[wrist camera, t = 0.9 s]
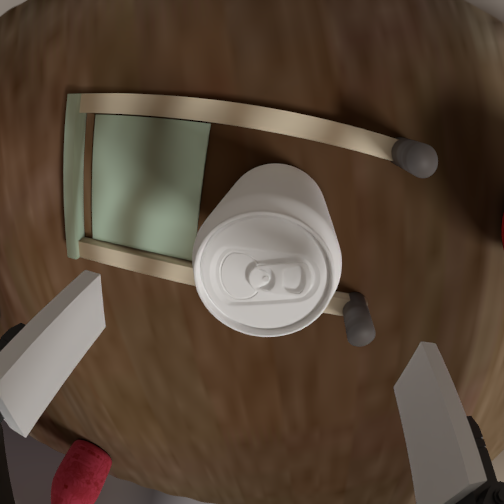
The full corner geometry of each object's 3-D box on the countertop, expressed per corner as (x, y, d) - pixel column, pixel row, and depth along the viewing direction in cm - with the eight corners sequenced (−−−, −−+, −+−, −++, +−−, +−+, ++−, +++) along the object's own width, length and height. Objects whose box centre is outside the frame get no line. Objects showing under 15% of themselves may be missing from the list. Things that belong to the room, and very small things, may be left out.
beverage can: (226, 162, 26) (175, 202, 15) (326, 162, 25) (351, 202, 14) (231, 253, 29) (194, 339, 18) (323, 255, 28) (336, 345, 17)
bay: (77, 252, 31) (50, 273, 27) (79, 90, 24) (45, 91, 19) (360, 314, 30) (369, 347, 25) (416, 142, 23) (441, 149, 18)
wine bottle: (77, 448, 55) (28, 544, 28) (72, 430, 50) (14, 538, 23) (114, 467, 55) (71, 568, 28) (114, 451, 51) (63, 567, 24)
